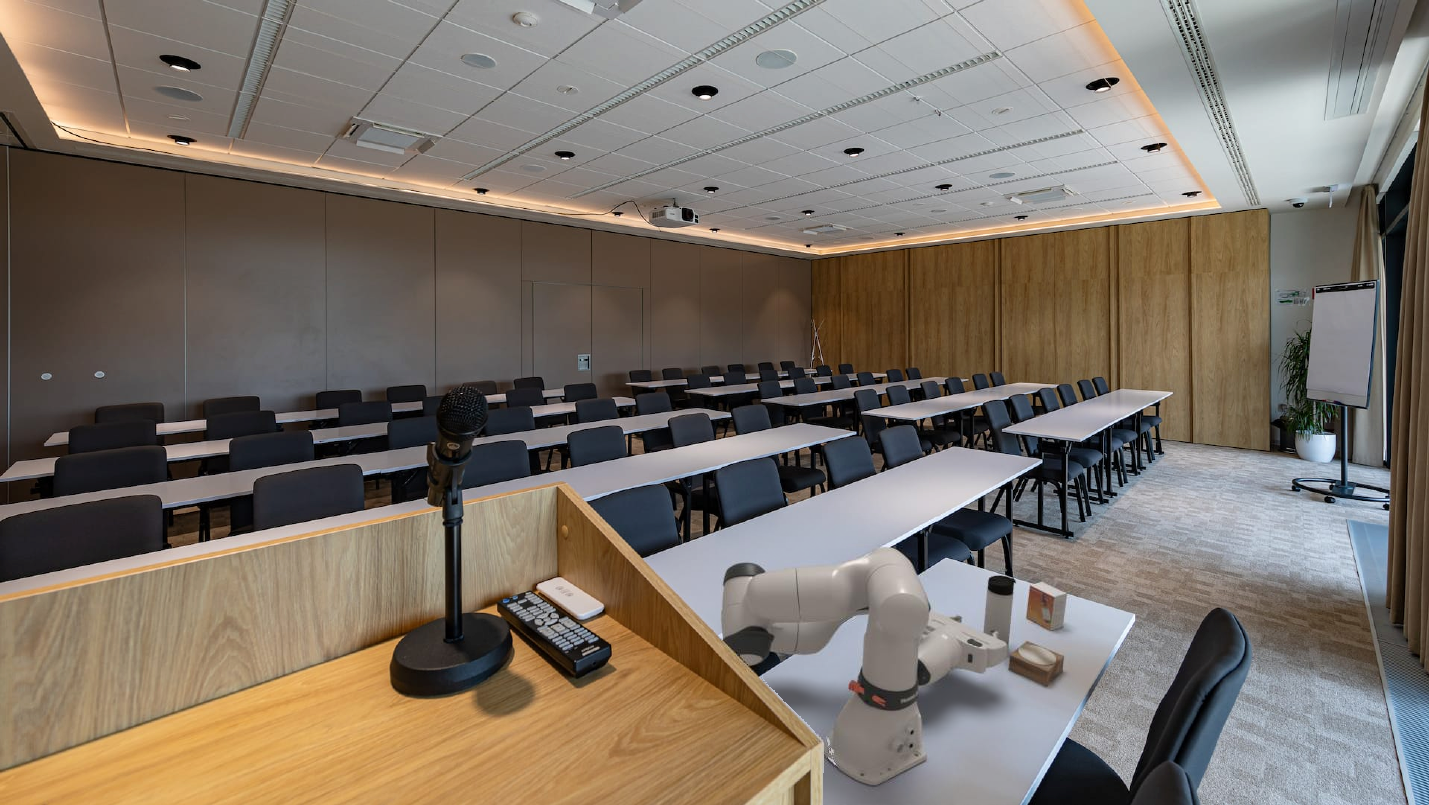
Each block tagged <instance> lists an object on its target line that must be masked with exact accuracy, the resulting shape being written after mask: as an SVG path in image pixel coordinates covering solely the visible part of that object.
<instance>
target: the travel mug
mask: <svg viewBox="0 0 1429 805" xmlns="http://www.w3.org/2000/svg"><path fill="white" fill-rule="evenodd" d="M1015 584H1017V580H1016V579H1015V578H1014V577H1009V576H1006V575H1000V574H999V575H993V576H992V575H991V576H990V577H989V578H988V580H987V586H986V589H987V590H986V599H985V609H984V610H985V611H984V623H983V631H982V632H983V633H985V634H988V635H990V634H989V632H990V631H992V630H994V631H997V632H998V633H999V634H998V638H997V639H999V640H1002V641H1004V642H1006V644H1007V646H1008V647H1009V645H1010V644H1009V643H1010V633H1011V623H1012V622H1011V621H1012V612H1013V600H1014V589H1015V588H1014V586H1015ZM1008 651H1009V649H1008V650H1007V653H1008Z"/></svg>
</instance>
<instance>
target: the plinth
mask: <svg viewBox="0 0 1429 805" xmlns="http://www.w3.org/2000/svg"><path fill="white" fill-rule="evenodd" d="M1064 660H1065V655H1062V654H1060V653H1057V652H1055V651H1053V650H1051V649H1048V648H1045V647H1043V646H1040V645H1038V644H1035V643H1034V642H1031V641H1029V640H1026V641H1025V642H1024V643H1023V644H1021V645H1020V646H1019V647H1018V648H1016V650H1014V651H1013V652H1012V653H1011V654H1009V660H1008V671H1011V672H1013V673H1016V675H1020V676H1021V677H1024V678H1027V679H1028V680H1031V681H1033V682H1034V683H1037V684H1039V685H1042V686H1044V687H1047V686H1048V685H1050V684H1051V683H1052V682H1053V681H1055V679H1056V678H1057V677H1058V676H1059V675H1060V674H1061V673H1062V672H1063V671H1064V670H1063V669H1064Z"/></svg>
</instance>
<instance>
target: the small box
mask: <svg viewBox="0 0 1429 805" xmlns="http://www.w3.org/2000/svg"><path fill="white" fill-rule="evenodd" d="M1067 596H1068V593H1067V592H1065V591H1063V590H1060V589H1058V588H1056V587H1054V586H1052V585H1050V584H1047V583H1045V582H1044V581H1040V582H1036V583H1034V584H1030V585H1029V590H1028V598H1027V607H1026V614H1025V616H1026V619H1029V621H1031V622H1034V623H1036V624H1038V625H1040V626H1041V627H1042V628H1044V629H1046V630H1047V629H1048V631H1049V632H1051V631H1053V630H1057V629H1060V627H1061V628H1063V627H1064V620H1065V615H1066V614H1065V613H1066V606H1067V605H1066V604H1067V598H1068V597H1067Z"/></svg>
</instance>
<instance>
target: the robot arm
mask: <svg viewBox="0 0 1429 805" xmlns="http://www.w3.org/2000/svg"><path fill="white" fill-rule="evenodd" d="M722 586H723V591H722V601H721V602H722V603H721V605H722V606H721V611H720V612H721V613H720V621H721V624H720V625H721V633H722V640H723V641H725V643H726V644H728V646H729V647H731V649H732V650H734V651H735V652H737V654H738V655H740V657H741V658H742V659H743V661H745V662H746V664H748V666H747V667H751V666H754V665H759V664H762V663H763V662H764V661H765V660H766V659H767V658H768V657H769V655H770V652H772V653H778V654H779V653H780V654H786V655H799V656H805V655H806V656H808V655H814V654H817V653H820V652H821V651H823V649H824V648H826V647H827V646H828V644H829V643H830V642H831V640H832V639H833V637H834V636H835V634H836V633H837V631H838V630H839V628H840V627H842V625H843V624H844V623H845V622H847V620H849V619H852V618H853V617H855V616H866V615H868V618H867V626H866V630H865V633H864V635H863V644H862V645H863V646H862V648H863V649H862V666H861V667H860V670H859V674H858V676H857V681H856V680H854V679H852V680H850V681H849V684H848V689H849V691H852V692H853V693H852V694H851V696H850V697H849V699H848V700H847V702H846V703H845V705H844V707H843V708H842V709H841V711H840V712H839V714H838V716H837V717H836V719H835V722H834V726H833V728H831V730H829V732H828V733H827V734H826V736H827V738H829V740H830V745H829V746H828V742H827V738H826V736H825V737H824V738H823V739H822V740H823V742H824V754H823V756H824V757H825V759H827V758H828V757H829V758H831V759H833V760H834V762H835V763H836V765H837V766H838V768H839V769H838V768H837V769H838V770H840V771H841V772H842V773H844V774H845V775H847V776H848V777H850V778H852V779H854V780H856V781H858V782H861V783H863V784H865V785H870V786H878V785H880V784H882V783H884V782H886V781H888V780H889V779H891V778H893V777H895V776H897V775H900V774H902V773H903V772H905V771H908V770H909V769H911V768H913V767H914V766H916V765H919V764H921V763H922V762H924V761H926V760H927V757H928V756H927V751H926V749H925V747H924V745H923V732H922V731H923V727H922V723H923V722H922V716H921V712H920V709H919V707H918V701H917V700H918V697H919V690H920V687H925V686H926V687H927V686H929V685H932V684H934V683H936V682H938V681H939V680H941V679H942V678H944V677H945V676H946V675H947V674H949V672H950V671H951V670H954V669H956V670H957V669H958V670H963V671H964V670H966V671H970V672H973V673H977V674H979V675H980V674H985V672H986V670H987V668H988V669H989V668H990V669H991V668H994V667H996V666H997V665H999V664H1000V663H1002V662H1003V661H1005V660H1006V659H1007V656H1008V652H1007V650H1008V651H1009V645H1008V646H1007V644H1006V642H1004V641H1002V640H999V639H997V638H998V634H999V633H998V632H997V631H994V630H992V631H990V632H989V634H990V635H988V634H985V633H983V632H984V631H980V630H978V629H976V628H973V627H971V626H968V625H966V624H964V623H962V619H963V618H962V616H961V615H959V614H955V615H947V616H945V615H942V614H940V613H939V612H936V611H931V609H932V608H931V607H932V606H931V604H930V602H929V599H928V594H927V592H926V591H925V589H924V586H923V584H922V582H921V579H920V578H919V576H918V574H917V572H916V570H915V567H914V565H913V563H912V562H911V560H910V559H909V558H908V557H906V556H905V555H904V554H903V553H902V552H900V551H899V550H897V549H896V548H893V547H889V546H881V547H877V548H874V550H872V551H871V552H869V553H868V554H867V555H864V556H861V557H857V558H854V559H851V560H848V561H842V562H839V563H835V564H827V565H813V566H802V567H801V566H799V567H798V566H797V567H790V568H789V567H788V568H781V569H775V570H770V571H766V570H765V569H764V568H763V567H761V565H759V564H757V563H753V562H738V563H735V564H733V565H731V566H730V567H728V568H727V569H726V571H725V574H724V577H723V582H722ZM829 748H830V749H829ZM831 748H832V749H833V750H834V753H832V755H831V753H829V750H830V751H831ZM833 754H834V755H833ZM832 757H833V758H832Z"/></svg>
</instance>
